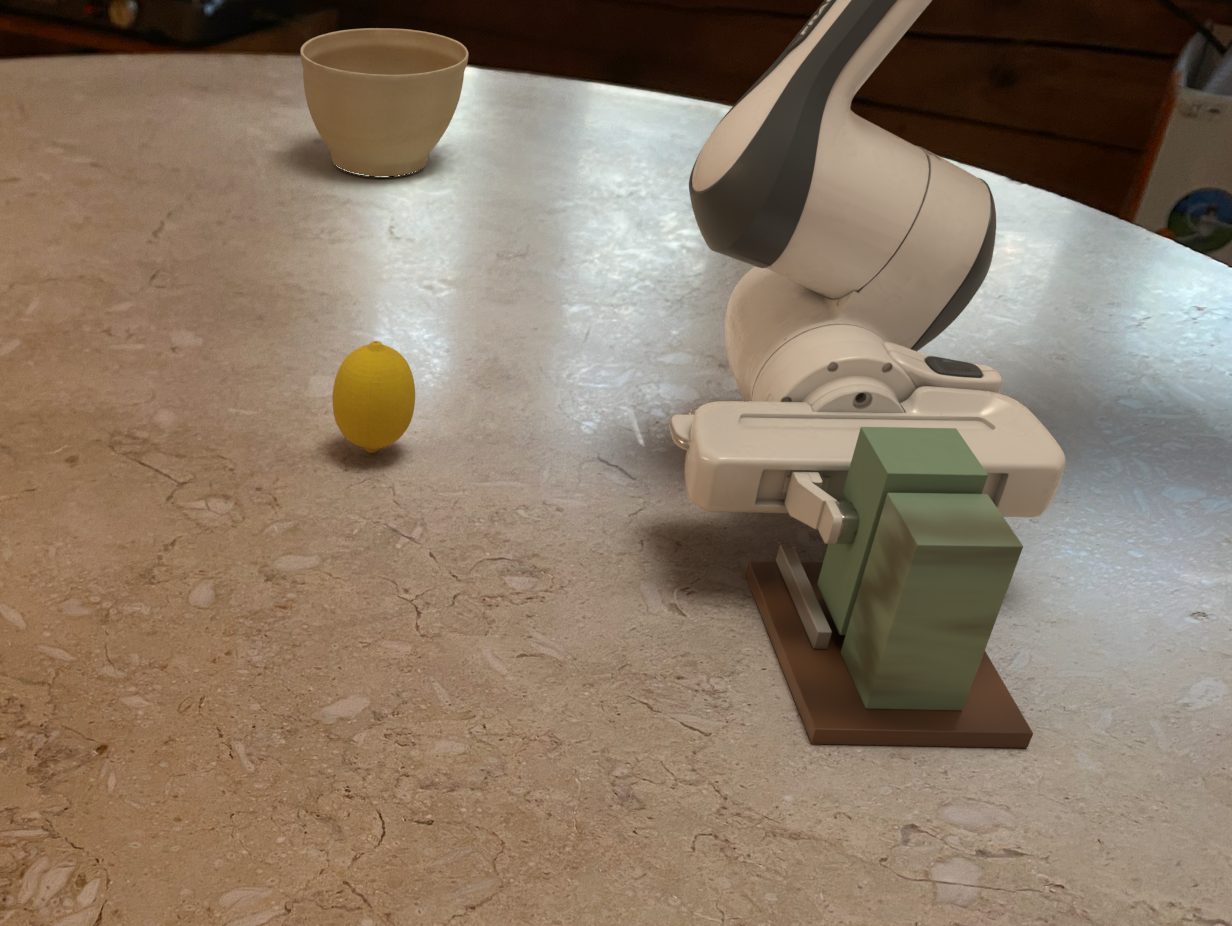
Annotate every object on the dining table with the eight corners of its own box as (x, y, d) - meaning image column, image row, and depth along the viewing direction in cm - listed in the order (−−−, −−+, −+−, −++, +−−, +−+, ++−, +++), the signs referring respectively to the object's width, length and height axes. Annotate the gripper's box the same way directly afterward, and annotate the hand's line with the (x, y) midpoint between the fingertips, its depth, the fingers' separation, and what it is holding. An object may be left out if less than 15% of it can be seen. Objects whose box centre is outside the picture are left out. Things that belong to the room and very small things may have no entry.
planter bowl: (279, 183, 143) (279, 64, 136) (324, 133, 155) (326, 22, 148) (441, 199, 139) (449, 78, 132) (473, 147, 151) (483, 34, 144)
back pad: (816, 584, 83) (860, 426, 77) (905, 586, 83) (956, 427, 77) (839, 635, 80) (887, 473, 73) (932, 637, 79) (988, 474, 73)
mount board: (744, 574, 88) (783, 407, 81) (930, 577, 87) (985, 410, 80) (811, 744, 75) (864, 563, 68) (1027, 748, 75) (1102, 567, 68)
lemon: (391, 427, 103) (396, 319, 98) (425, 463, 99) (433, 352, 94) (318, 441, 101) (320, 332, 96) (350, 478, 97) (354, 366, 92)
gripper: (672, 362, 86) (718, 478, 76) (1023, 367, 86) (1120, 484, 75) (655, 457, 90) (696, 580, 80) (990, 462, 90) (1078, 587, 79)
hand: (905, 534), depth 77 cm, fingers closed on back pad, 5 cm apart
